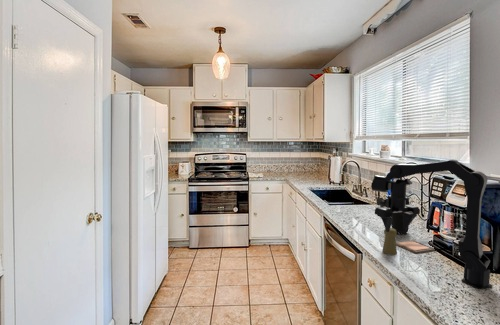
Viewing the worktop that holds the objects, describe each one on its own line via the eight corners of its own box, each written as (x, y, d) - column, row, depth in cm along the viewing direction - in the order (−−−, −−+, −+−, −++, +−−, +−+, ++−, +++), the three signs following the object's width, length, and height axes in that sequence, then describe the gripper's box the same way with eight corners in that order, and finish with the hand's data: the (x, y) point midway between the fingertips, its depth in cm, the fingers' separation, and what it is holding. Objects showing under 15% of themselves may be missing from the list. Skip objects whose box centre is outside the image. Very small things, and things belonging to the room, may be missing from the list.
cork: (384, 248, 137) (385, 225, 136) (398, 251, 133) (399, 228, 132) (380, 252, 132) (381, 228, 131) (395, 256, 128) (396, 231, 128)
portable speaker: (411, 232, 160) (413, 197, 159) (403, 236, 155) (404, 199, 153) (396, 228, 167) (397, 195, 166) (387, 231, 162) (388, 197, 160)
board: (448, 248, 137) (449, 246, 137) (415, 253, 131) (416, 251, 131) (426, 240, 149) (426, 237, 149) (395, 244, 142) (395, 242, 142)
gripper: (400, 189, 132) (398, 223, 133) (366, 191, 126) (364, 227, 127) (421, 194, 121) (419, 231, 123) (385, 197, 115) (383, 235, 117)
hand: (396, 230), depth 123 cm, fingers open, 9 cm apart
